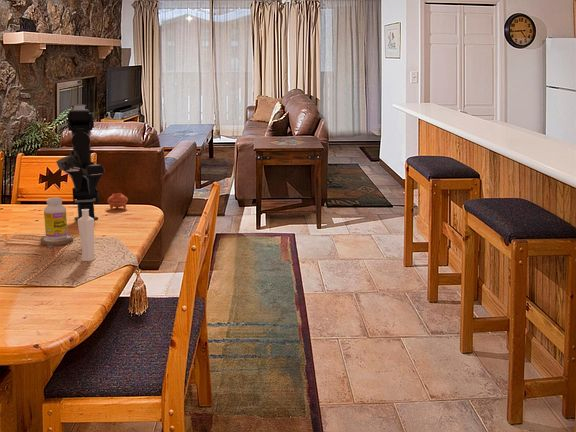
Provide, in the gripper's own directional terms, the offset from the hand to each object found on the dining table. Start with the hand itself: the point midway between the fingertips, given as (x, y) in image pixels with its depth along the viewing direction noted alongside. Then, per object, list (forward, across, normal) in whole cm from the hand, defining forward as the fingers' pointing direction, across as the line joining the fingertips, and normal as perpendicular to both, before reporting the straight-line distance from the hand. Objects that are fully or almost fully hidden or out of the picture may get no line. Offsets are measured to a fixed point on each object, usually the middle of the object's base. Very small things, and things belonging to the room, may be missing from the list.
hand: (84, 192), depth 220 cm
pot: (+12, -22, +26) cm, 36 cm away
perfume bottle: (+14, +31, -17) cm, 38 cm away
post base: (+14, +7, -14) cm, 21 cm away
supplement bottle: (+12, +7, -14) cm, 20 cm away
